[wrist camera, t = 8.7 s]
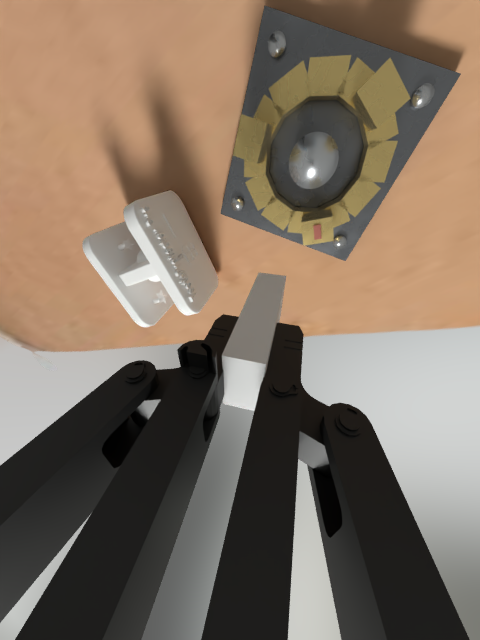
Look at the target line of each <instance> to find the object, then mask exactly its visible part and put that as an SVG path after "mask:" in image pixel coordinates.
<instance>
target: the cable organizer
mask: <svg viewBox="0 0 480 640" xmlns="http://www.w3.org/2000/svg"><path fill="white" fill-rule="evenodd" d="M124 219H125V222H122V223H120V224H117V225H114V226H112V227H109V228H107V229H104V230H102V231H99V232H96V233H94V234H92V235H90V236H88V237H86V238H85V239H84V240H83V250H84V253H85V255H86V257H87V258H88V260H89V261H90V262H91V264H92V265H93V267H94V268H95V269H96V271H97V272H98V273H99V275H100V276H101V277H102V279H103V280H104V281H105V283H106V284H107V285H108V287H109V288H110V289H111V291H112V292H113V293H114V295H115V296H116V297H117V299H118V300H119V301H120V303H121V304H122V305H123V307H124V308H125V309H126V311H127V312H128V313H129V315H130V316H131V318H132V319H133V320H134V321H135V322H136V323H137V324H138V325H139V326H142V327H149V326H153V325H155V324H156V323H157V322H158V321H159V320H160V318H161V317H162V316H163V315H164V314H165V313H166V312H167V311H168V310H169V308H170V307H171V306H172V305H173V304H174V303H175V305H176V306H177V308H178V309H179V310H180V312H182V313H183V314H184V315H192V314H197V313H199V312H200V311H201V310H202V308H203V307H204V305H205V304H206V302H207V301H208V300H209V298H210V297H211V295H212V294H213V292H214V291H215V290H216V288H217V287H218V276H217V273H216V271H215V268H214V266H213V264H212V262H211V260H210V258H209V256H208V254H207V252H206V250H205V248H204V245H203V243H202V241H201V239H200V237H199V235H198V233H197V231H196V229H195V227H194V225H193V223H192V221H191V218H190V216H189V214H188V212H187V210H186V208H185V206H184V204H183V202H182V201H181V199H180V198H179V196H178V195H177V194H176V193H175V192H173V191H171V190H169V191H166V192H162V193H159V194H155V195H152V196H149V197H145V198H142V199H138V200H136V201H134V202H132V203H130V204H129V205H127V206H125V208H124Z"/></svg>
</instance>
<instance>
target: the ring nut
mask: <svg viewBox="0 0 480 640" xmlns="http://www.w3.org/2000/svg"><path fill="white" fill-rule="evenodd" d="M350 59H351V55H342V56H325V57H310V61H309V68H308V74H307V71H306V68H305V64H304V61H302V62H300V63H299V64H298V65H297V66H296V67H294V68H293V69H292V70H291V71H289V72H288V73H287V74H286V75H284V76H283V77H282V78H281V79H279V80H278V81H277V82H276V83H274V84H273V85H272V86H271V87H270V88H269V91H270V94H271V97H272V99H273V101H272V100H271V99H270V98H268V97H267V96H266V95H265V94H264V96H263V98H262V100H261V102H260V104H259V106H258V109H257V111H256V113H255V115H254V117H253V118H251V117H248V116H246V115H243V114H241V118H240V123H239V127H238V132H237V137H236V142H235V147H234V152H233V156H236V157H239V158H242V159H244V177H253V178H251V179H250V180H248V181H247V182H245V183H246V186H247V188H248V190H249V192H250V194H251V196H252V199H253V201H254V203H255V205H256V207H257V210H258V211H259V210H260V209H262V208H264V207H265V209H264V210H263V212H262V214H261V215H262V216H264V217H265V218H267V219H268V220H269V221H271V222H272V223H273V224H275V225H276V226H278V227H279V228H280V229H282V230H284V229H285V228H286V226H287V225H288V223H289V225H288V232H291V233H302V236H303V246H306V245H312V244H318V243H324V242H331V241H334V234H333V228H335V227H337V226H339V225H342V224H344V223H346V222H349V221H350V218H349V215H348V212H349V213H350V214H351V215H353V216H354V217H356V216H357V215H358V213H359V212H360V211H361V210H362V209H363V208H364V207H365V206H366V204H367V203H368V202H369V201H370V200H371V199H372V198H373V197H374V196H375V194H376V193H377V192H378V191H379V190H380V189H381V188H380V187H379V186H377V185H376V184H375V183H374V182H383V183H384V182H385V179H386V176H387V173H388V170H389V167H390V164H391V161H392V158H393V155H394V151H395V148H396V145H397V142H398V141H386V140H388V139H390V138H391V137H393V136H395V135H397V134H399V133H398V127H397V121H396V115H395V112H396V111H397V110H398V109H399V108H401V107H402V106H403V105H404V104H405V103H406V102H407V101H408V100H409V99H411V98H410V96H409V94H408V92H407V90H406V88H405V86H404V84H403V82H402V80H401V78H400V76H399V74H398V72H397V70H396V68H395V66H394V64H393V62H392V60H391V58H389V59H388V60H387V61H386V62H385V63H384V64H383V65H382V66H381V67H380V68H379V69H378V71H377V72H376V73H375V72H374V71H373V70H372V69H370V68H369V67H368V66H367V65H366V64H365V63H364V62H363V61H361V60H360V59H359V58H358V57H357V59H356V60H355V62H354V64H353V65H352V67H351V69H350V70H349V72H348V69H349V64H350ZM312 100H338V101H339V102H340V103H341V104H342V105H344V106H345V107H346V108H347V109H348V110H349V111H351V112H352V113H353V114H354V115H355V116H357V118H358V122H359V126H360V130H361V135H362V139H363V143H364V148H363V152H362V155H361V159H360V163H359V167H358V171H357V175H356V176H355V177H354V179H353V180H352V181H351V182H350V184H349V185H348V186H347V187H346V189H345V190H344V191H343V192H342V194H341V195H340V196H339V197H338V198H336V199H334V200H332V201H330V202H328V203H326V204H324V205H322V206H320V207H318V208H308V207H295V206H293V205H292V204H291V203H289V202H288V201H287V200H285V199H284V198H283V197H281V196H280V195H279V194H278V193H277V190H276V188H275V185H274V183H273V181H272V178H271V176H270V173H269V166H270V152H271V144H272V142H273V140H274V138H275V136H276V134H277V132H278V131H279V129H280V127H281V125H282V123H283V121H284V119H285V118H286V117H287V116H289V115H290V114H291V113H293V112H294V111H296V110H297V109H298V108H300V107H301V106H303V105H304V104H305V103H307V102H308V101H312Z"/></svg>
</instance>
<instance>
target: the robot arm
mask: <svg viewBox="0 0 480 640" xmlns="http://www.w3.org/2000/svg"><path fill="white" fill-rule="evenodd" d="M285 281H286V276H282V275H274V274H266V273H258V276H257V278H256V280H255V282H254V284H253V287H252V289H251V291H250V293H249V296H248V298H247V300H246V302H245V305H244V307H243V309H242V311H241V314H240V316H239V317H236V316H230V315H224V314H223V315H222V316H221V317H219V318H218V319H216V320H215V322H214V324H213V326H212V328H211V329H210V331H209V333H208V335H207V336H206V338H205V340H194V341H189V342H187V343H185V344H183V345H182V346H181V347H180V348H179V349H178V355H179V360H180V365H181V367H179V368H175V369H163V370H156V368H155V366H154V365H153V364H152V363H151V362H148V361H144V360H143V361H135V362H132V363H129V364H127V365H126V366H124V367H122V368H121V369H120V370H119V371H117V372H116V373H115V374H114V375H112V376H111V377H110V378H109V379H108V380H107V381H105V382H104V383H102V384H101V385H100V386H99V387H98V388H96V389H95V390H94V391H92V392H91V393H90V394H89V395H88V396H86V397H85V398H84V399H83V400H81V401H80V402H79V403H78V404H76V405H75V406H74V407H73V408H71V409H70V410H69V411H68V412H66V413H65V414H64V415H63V416H61V417H60V418H59V419H58V420H57V421H56V422H54V423H53V424H51V425H50V426H49V427H48V428H47V429H45V430H44V431H43V432H42V433H40V434H39V435H38V436H37V437H35V438H34V439H33V440H32V441H30V442H29V443H28V444H27V445H25V446H24V447H23V448H22V449H20V450H19V451H18V452H17V453H16V454H14V455H13V456H12V457H10V458H9V459H8V460H7V461H6V462H4V463H3V464H2V465H1V466H0V622H1V621H2V620H3V619H4V617H5V616H6V615H7V614H8V613H9V611H10V610H11V609H12V608H13V607H14V605H15V604H16V603H17V602H18V601H19V599H20V598H21V597H22V596H23V595H24V593H25V592H26V591H27V590H28V588H29V587H30V586H31V585H32V584H33V583H34V581H35V580H36V579H37V578H38V577H39V575H40V574H41V573H42V572H43V570H44V569H45V568H46V567H47V566H48V564H49V563H50V562H51V561H52V560H53V558H54V557H55V556H56V555H57V554H58V553H59V551H60V550H61V549H62V548H63V547H64V545H65V544H66V543H67V541H68V540H69V539H70V538H71V537H72V536H73V534H74V533H75V532H76V531H77V530H78V528H79V527H80V526H81V525H82V524H83V522H84V521H85V520H86V519H87V518H88V516H89V515H90V514H91V513H92V514H91V515H90V517H89V519H88V520H87V522H86V524H85V525H84V527H83V529H82V530H81V532H80V534H79V535H78V537H77V539H76V540H75V542H74V544H73V545H72V547H71V548H70V550H69V552H68V553H67V555H66V557H65V558H64V560H63V562H62V563H61V565H60V566H59V568H58V570H57V571H56V573H55V575H54V576H53V578H52V580H51V582H50V583H49V585H48V587H47V588H46V590H45V591H44V593H43V595H42V596H41V598H40V599H39V601H38V603H37V605H36V606H35V608H34V609H33V611H32V613H31V614H30V616H29V618H28V619H27V621H26V623H25V624H24V626H23V627H22V629H21V631H20V633H19V634H18V636H17V637H16V639H15V640H141V638H142V636H143V633H144V630H145V627H146V624H147V621H148V619H149V616H150V613H151V610H152V607H153V604H154V602H155V598H156V596H157V593H158V590H159V587H160V584H161V582H162V579H163V576H164V573H165V570H166V567H167V564H168V562H169V559H170V556H171V553H172V550H173V547H174V544H175V542H176V539H177V536H178V533H179V530H180V527H181V525H182V522H183V519H184V516H185V513H186V510H187V508H188V505H189V502H190V499H191V496H192V493H193V490H194V488H195V485H196V482H197V479H198V476H199V473H200V471H201V468H202V465H203V462H204V459H205V456H206V453H207V451H208V448H209V445H210V442H211V439H212V436H213V433H214V431H215V428H216V425H217V422H218V419H219V415H220V405H221V402H222V399H223V398H224V404H227V405H231V406H236V407H239V408H243V409H248V410H252V411H254V415H253V420H252V424H251V428H250V433H249V437H248V441H247V446H246V450H245V454H244V458H243V463H242V467H241V471H240V476H239V480H238V484H237V488H236V493H235V497H234V502H233V506H232V510H231V514H230V518H229V523H228V527H227V531H226V536H225V540H224V544H223V549H222V553H221V558H220V562H219V566H218V570H217V574H216V579H215V583H214V587H213V591H212V596H211V600H210V604H209V609H208V613H207V617H206V621H205V626H204V630H203V634H202V639H201V640H287V639H288V622H289V605H290V588H291V571H292V553H293V536H294V519H295V502H296V484H297V468H298V459H300V460H301V461H303V462H304V463H306V464H307V465H308V471H309V476H310V481H311V486H312V491H313V496H314V501H315V506H316V511H317V517H318V521H319V527H320V532H321V537H322V542H323V546H324V552H325V557H326V562H327V567H328V572H329V577H330V583H331V588H332V593H333V598H334V603H335V608H336V613H337V618H338V623H339V629H340V634H341V639H342V640H469V637H468V635H467V633H466V631H465V629H464V627H463V624H462V622H461V620H460V618H459V616H458V613H457V611H456V609H455V607H454V605H453V602H452V600H451V598H450V596H449V594H448V591H447V589H446V587H445V585H444V582H443V580H442V578H441V576H440V574H439V571H438V569H437V567H436V565H435V563H434V560H433V559H432V556H431V554H430V552H429V549H428V547H427V545H426V543H425V541H424V538H423V537H422V534H421V532H420V530H419V528H418V525H417V523H416V521H415V519H414V516H413V514H412V512H411V510H410V508H409V506H408V503H407V501H406V499H405V497H404V495H403V493H402V490H401V488H400V486H399V484H398V482H397V479H396V477H395V475H394V472H393V470H392V468H391V466H390V464H389V462H388V459H387V457H386V455H385V453H384V450H383V448H382V446H381V444H380V442H379V440H378V438H377V435H376V433H375V431H374V429H373V426H372V424H371V423H370V421H369V420H368V418H367V417H366V415H365V414H363V413H362V412H361V411H360V410H359V409H357V408H355V407H353V406H351V405H349V404H344V403H337V404H332V405H331V406H327V405H325V404H323V403H321V402H319V401H317V400H316V399H314V398H313V397H311V396H310V395H309V394H308V393H307V392H306V391H305V390H304V388H303V386H302V383H301V364H302V348H303V333H302V331H301V329H300V327H299V326H295V325H289V324H283V323H279V320H280V315H281V308H282V301H283V294H284V288H285Z"/></svg>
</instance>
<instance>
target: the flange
mask: <svg viewBox="0 0 480 640" xmlns="http://www.w3.org/2000/svg"><path fill="white" fill-rule="evenodd" d="M342 55H351V59H350V64H349V69H348V72H349V70H350V69H351V67H352V65H353V64H354V62H355V60H356V59H357V57H358V58H359V59H360V60H361V61H363V62H364V63H365V64H366V65H367V66H368V67H369V68H370V69H372V70H373V71H374V72H375V73H376V72H377V71H378V69H379V68H380V67H381V66H382V65H383V64H384V63H385V62H386V61H387V60H388V59H389V58H391V60H392V62H393V64H394V66H395V68H396V70H397V72H398V74H399V76H400V78H401V80H402V82H403V84H404V86H405V88H406V90H407V92H408V94H409V96H410V98H411V99H409V100H408V101H407V102H406V103H405V104H404V105H403V106H402V107H401V108H399V109H398V110H397V111H396V112H395V115H396V121H397V127H398V133H399V134H397V135H395V136H393V137H391V138H390V139H388V140H386V141H398V142H397V145H396V148H395V151H394V155H393V158H392V161H391V164H390V167H389V170H388V173H387V176H386V179H385V182H384V183H383V182H374V183H375V184H376V185H377V186H379V187H380V188H381V189H380V190H379V191H378V192H377V193H376V194H375V196H374V197H373V198H372V199H371V200H370V201H369V202H368V203H367V204H366V206H365V207H364V208H363V209H362V210H361V211H360V212H359V213H358V215H357V216H356V217H354V216H353V215H351V214H350V213H349V212H348V215H349V218H350V221H349V222H346V223H344V224H342V225H339V226H337V227H335V228H333V234H334V241H331V242H324V243H318V244H312V245H306V246H307V247H310V248H312V249H315V250H318V251H320V252H323V253H326V254H328V255H331V256H334V257H336V258H339V259H341V260H344V261H346V259H347V258H348V256H349V254H350V253H351V251H352V250H353V248H354V246H355V245H356V243H357V242H358V240H359V238H360V237H361V235H362V233H363V232H364V230H365V229H366V227H367V225H368V224H369V222H370V220H371V219H372V217H373V216H374V214H375V212H376V211H377V209H378V207H379V206H380V204H381V203H382V201H383V199H384V198H385V196H386V195H387V193H388V191H389V190H390V188H391V186H392V185H393V183H394V182H395V180H396V178H397V177H398V175H399V173H400V172H401V170H402V169H403V167H404V165H405V164H406V162H407V160H408V159H409V157H410V156H411V154H412V152H413V151H414V149H415V148H416V146H417V144H418V143H419V141H420V139H421V138H422V136H423V135H424V133H425V131H426V130H427V128H428V126H429V125H430V123H431V122H432V120H433V118H434V117H435V115H436V113H437V112H438V110H439V109H440V107H441V105H442V104H443V102H444V101H445V99H446V97H447V96H448V94H449V92H450V91H451V89H452V88H453V86H454V84H455V83H456V81H457V79H458V78H459V76H460V75H461V74H460V73H457V72H454V71H451V70H448V69H446V68H443V67H440V66H437V65H434V64H431V63H428V62H425V61H423V60H420V59H417V58H414V57H411V56H408V55H405V54H403V53H400V52H397V51H394V50H391V49H388V48H385V47H382V46H380V45H377V44H374V43H371V42H368V41H365V40H362V39H359V38H357V37H354V36H351V35H348V34H345V33H342V32H339V31H337V30H334V29H331V28H328V27H325V26H322V25H319V24H316V23H314V22H311V21H308V20H305V19H302V18H299V17H296V16H293V15H291V14H288V13H285V12H282V11H279V10H276V9H273V8H270V7H268V6H264V11H263V16H262V20H261V25H260V30H259V35H258V39H257V44H256V49H255V53H254V58H253V63H252V68H251V72H250V77H249V82H248V86H247V91H246V96H245V101H244V105H243V110H242V114H243V115H246V116H248V117H251V118H253V117H254V115H255V113H256V111H257V109H258V106H259V104H260V102H261V100H262V98H263V96H264V94H265V95H266V96H267V97H268V98H270V99H271V100H272V101H273V99H272V97H271V94H270V91H269V88H270V87H271V86H272V85H273V84H274V83H276V82H277V81H278V80H279V79H281V78H282V77H283V76H284V75H286V74H287V73H288V72H289V71H291V70H292V69H293V68H294V67H296V66H297V65H298V64H299V63H300V62H302V61H304V64H305V68H306V71H307V74H308V68H309V61H310V57H325V56H342ZM363 148H364V143H363V139H362V135H361V130H360V126H359V122H358V118H357V116H355V115H354V114H353V113H352V112H351V111H349V110H348V109H347V108H346V107H345V106H344V105H342V104H341V103H340V102H339V101H338V100H312V101H308V102H307V103H305V104H304V105H303V106H301V107H300V108H298V109H297V110H296V111H294V112H293V113H291V114H290V115H289V116H287V117H286V118H285V119H284V121H283V123H282V125H281V127H280V129H279V131H278V132H277V134H276V136H275V138H274V140H273V142H272V144H271V152H270V166H269V173H270V176H271V178H272V181H273V183H274V185H275V188H276V190H277V193H278V194H279V195H280V196H281V197H283V198H284V199H285V200H287V201H288V202H289V203H291V204H292V205H293V206H295V207H308V208H318V207H320V206H322V205H324V204H326V203H328V202H330V201H332V200H334V199H336V198H338V197H339V196H340V195H341V194H342V192H343V191H344V190H345V189H346V187H347V186H348V185H349V184H350V182H351V181H352V180H353V179H354V177H355V176H356V175H357V171H358V167H359V163H360V159H361V155H362V152H363ZM251 178H253V177H244V159H242V158H239V157H236V156H233V157H232V162H231V167H230V171H229V176H228V181H227V185H226V190H225V195H224V200H223V204H222V209H221V214H223V215H225V216H228V217H231V218H233V219H236V220H239V221H241V222H244V223H246V224H249V225H252V226H254V227H257V228H260V229H262V230H265V231H268V232H270V233H273V234H276V235H278V236H281V237H283V238H286V239H289V240H291V241H294V242H297V243H299V244H302V245H303V236H302V233H291V232H288V225H289V223H288V225H287V226H286V228H285V229H284V230H282V229H280V228H279V227H278V226H276V225H275V224H273V223H272V222H271V221H269V220H268V219H267V218H265V217H264V216H262V215H261V214H262V212H263V210H264V209H265V207H264V208H262V209H260V210H259V211H258V210H257V207H256V205H255V203H254V201H253V199H252V196H251V194H250V192H249V190H248V188H247V186H246V183H245V182H247V181H248V180H250V179H251Z"/></svg>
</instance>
